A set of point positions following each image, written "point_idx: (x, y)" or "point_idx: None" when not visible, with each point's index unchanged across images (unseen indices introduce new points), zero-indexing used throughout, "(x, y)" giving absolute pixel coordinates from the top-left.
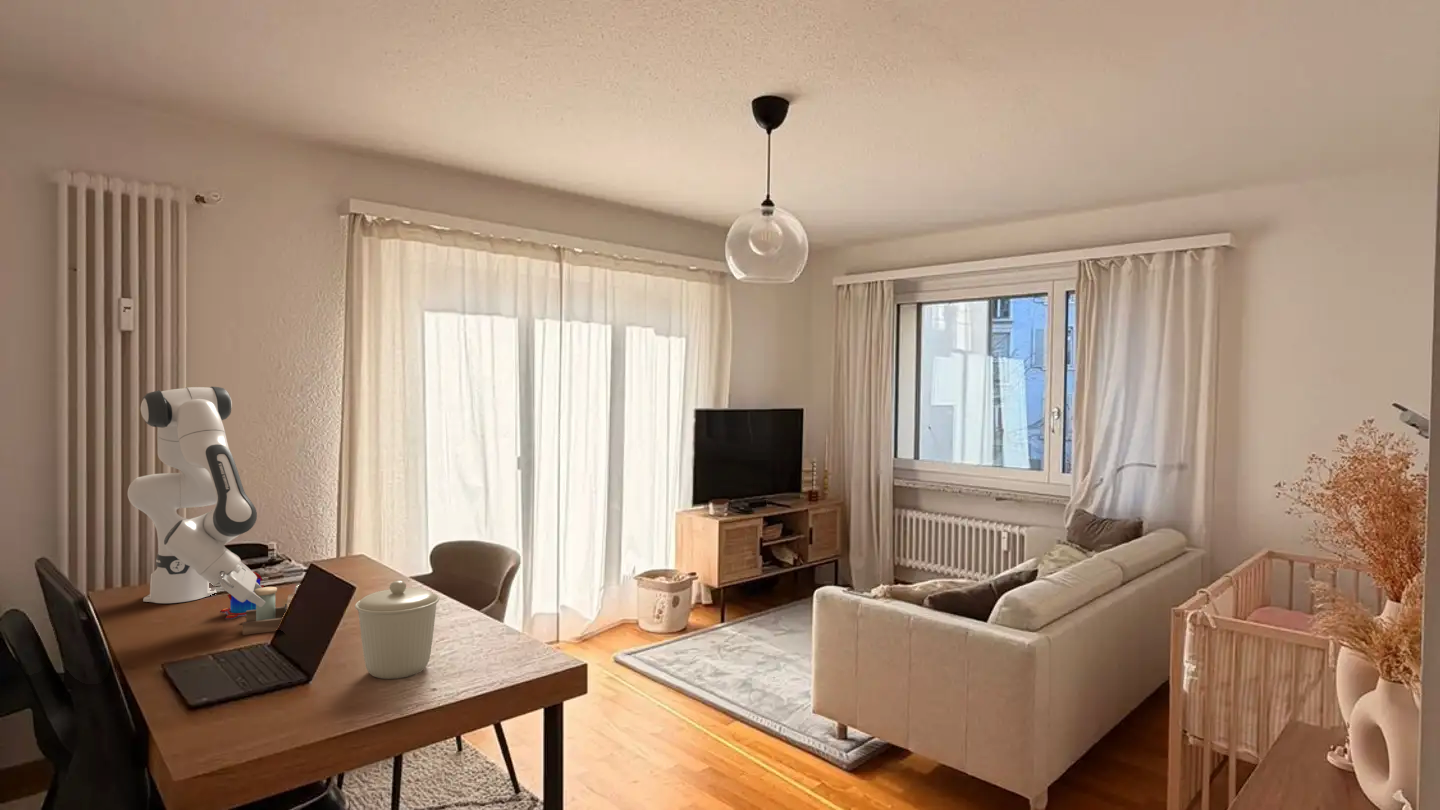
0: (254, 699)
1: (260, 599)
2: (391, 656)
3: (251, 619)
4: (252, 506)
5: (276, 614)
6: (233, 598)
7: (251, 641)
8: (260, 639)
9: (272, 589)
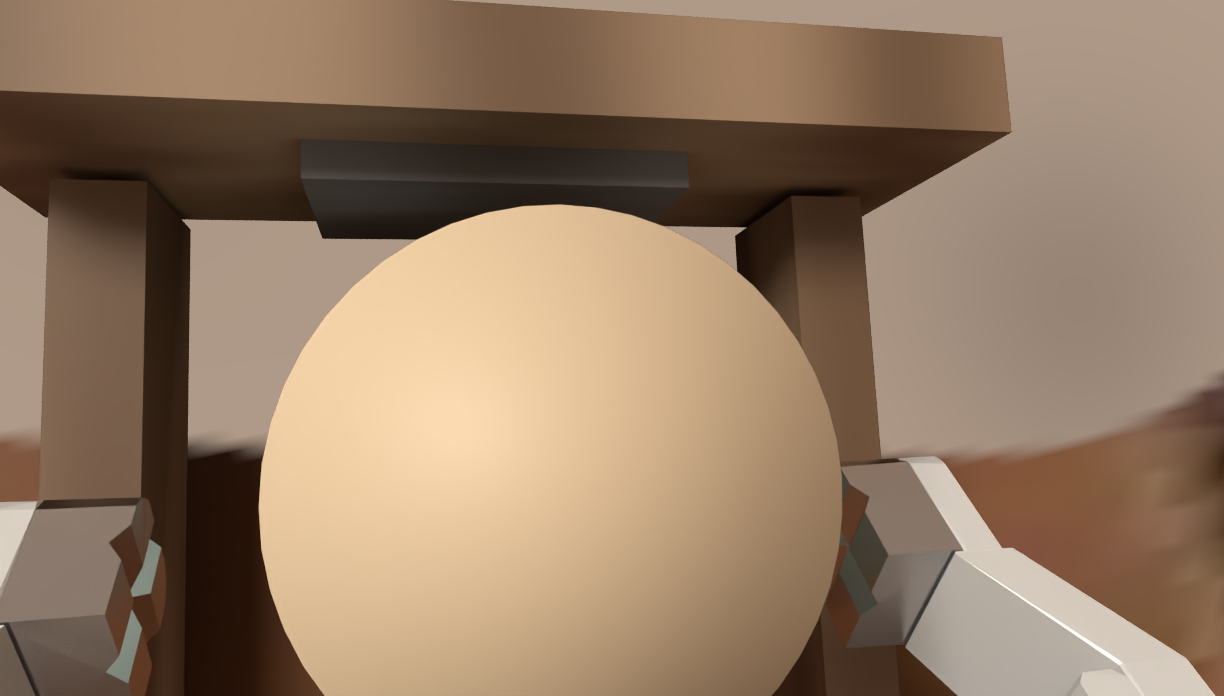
0: None
1: (993, 548)
2: None
3: None
4: None
5: (169, 359)
6: None
7: (1109, 563)
8: (1068, 478)
9: (678, 310)
